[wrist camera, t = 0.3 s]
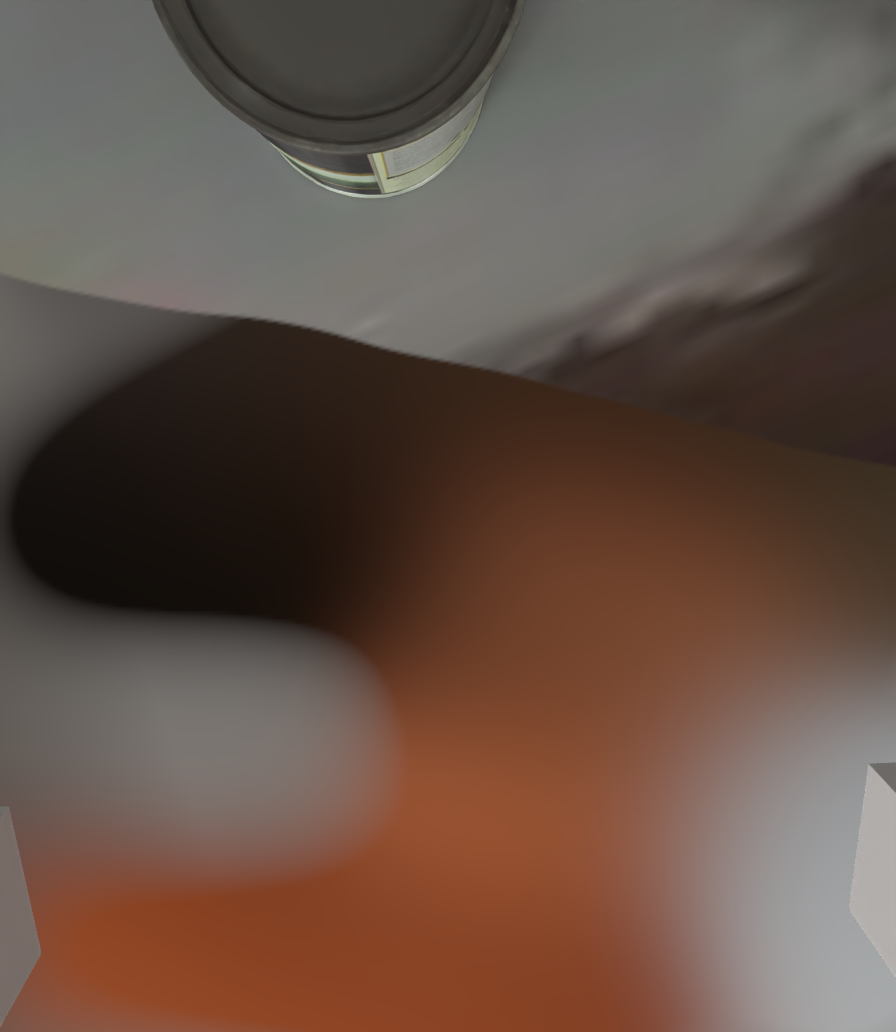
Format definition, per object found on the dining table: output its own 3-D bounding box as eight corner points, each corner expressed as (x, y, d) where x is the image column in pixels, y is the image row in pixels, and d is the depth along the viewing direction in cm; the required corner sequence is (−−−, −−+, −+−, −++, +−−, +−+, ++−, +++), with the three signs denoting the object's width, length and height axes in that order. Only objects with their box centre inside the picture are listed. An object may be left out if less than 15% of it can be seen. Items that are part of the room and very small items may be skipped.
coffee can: (270, 213, 36) (179, 172, 22) (227, -54, 33) (91, -290, 19) (499, 188, 36) (549, 130, 22) (477, -82, 33) (519, -337, 19)
